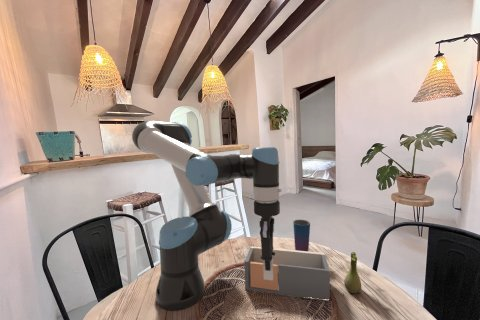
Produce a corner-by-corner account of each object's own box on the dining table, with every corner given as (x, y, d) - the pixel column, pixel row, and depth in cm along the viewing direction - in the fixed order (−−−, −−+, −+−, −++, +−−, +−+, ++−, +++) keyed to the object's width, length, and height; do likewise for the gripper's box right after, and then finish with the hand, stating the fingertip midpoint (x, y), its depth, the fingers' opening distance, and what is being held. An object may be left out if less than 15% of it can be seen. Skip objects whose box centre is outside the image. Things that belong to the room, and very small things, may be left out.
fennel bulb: (355, 298, 65) (356, 260, 64) (340, 289, 69) (340, 253, 68) (364, 290, 68) (365, 254, 68) (349, 282, 72) (349, 248, 72)
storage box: (245, 289, 70) (244, 261, 69) (251, 270, 81) (250, 246, 80) (329, 301, 64) (329, 271, 63) (324, 279, 74) (324, 253, 74)
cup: (311, 262, 86) (311, 225, 85) (293, 260, 87) (293, 224, 86) (309, 253, 92) (309, 219, 91) (293, 252, 94) (292, 219, 93)
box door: (250, 286, 69) (250, 263, 69) (251, 285, 70) (250, 261, 70) (277, 290, 67) (277, 266, 67) (277, 288, 68) (277, 264, 68)
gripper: (278, 206, 55) (280, 294, 56) (280, 195, 67) (282, 267, 69) (249, 205, 57) (252, 291, 58) (257, 194, 69) (259, 265, 70)
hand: (268, 278), depth 63 cm, fingers closed
